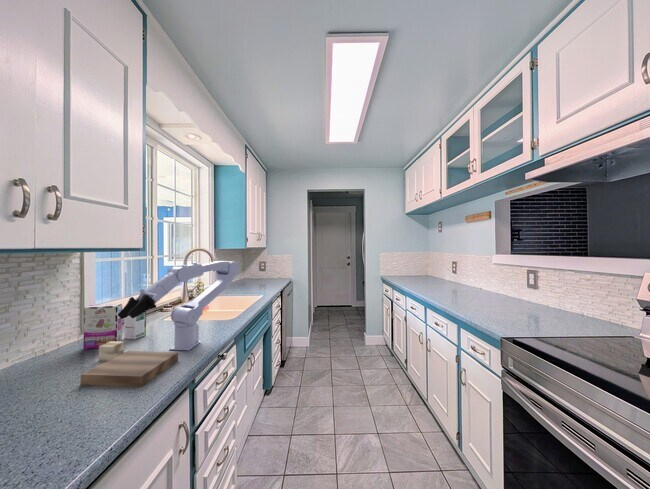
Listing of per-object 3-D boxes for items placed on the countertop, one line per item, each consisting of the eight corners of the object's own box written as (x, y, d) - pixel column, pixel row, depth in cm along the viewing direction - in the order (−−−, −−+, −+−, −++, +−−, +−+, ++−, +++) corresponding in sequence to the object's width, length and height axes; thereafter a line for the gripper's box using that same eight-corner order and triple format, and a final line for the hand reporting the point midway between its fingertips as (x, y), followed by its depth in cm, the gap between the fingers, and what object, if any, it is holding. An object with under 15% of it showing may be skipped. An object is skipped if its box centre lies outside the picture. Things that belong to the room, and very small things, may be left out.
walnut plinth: (128, 359, 96) (128, 350, 96) (177, 360, 95) (178, 352, 95) (80, 384, 78) (80, 374, 78) (141, 387, 77) (141, 376, 77)
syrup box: (135, 339, 116) (135, 305, 116) (123, 338, 117) (124, 304, 117) (146, 335, 122) (147, 303, 122) (135, 334, 123) (136, 302, 123)
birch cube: (110, 354, 100) (110, 341, 100) (123, 355, 100) (123, 341, 100) (98, 360, 95) (99, 346, 95) (112, 360, 95) (112, 346, 95)
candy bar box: (122, 343, 111) (123, 303, 112) (116, 347, 107) (117, 306, 107) (89, 345, 109) (90, 304, 109) (82, 350, 104) (83, 307, 104)
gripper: (143, 283, 101) (107, 308, 91) (162, 278, 94) (126, 306, 83) (155, 297, 104) (121, 323, 94) (175, 294, 96) (141, 322, 86)
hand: (124, 316), depth 89 cm, fingers open, 7 cm apart
